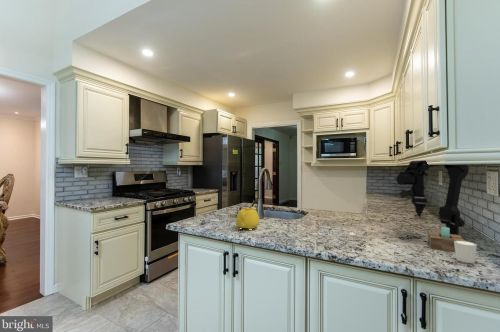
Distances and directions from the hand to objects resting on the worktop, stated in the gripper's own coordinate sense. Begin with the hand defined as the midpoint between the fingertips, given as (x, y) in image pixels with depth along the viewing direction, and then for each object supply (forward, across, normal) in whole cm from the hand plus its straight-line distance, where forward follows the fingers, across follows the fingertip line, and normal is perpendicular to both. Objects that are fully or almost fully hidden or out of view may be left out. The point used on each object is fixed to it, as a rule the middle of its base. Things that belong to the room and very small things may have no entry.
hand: (418, 214), depth 125 cm
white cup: (+13, +26, +14) cm, 32 cm away
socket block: (+12, +10, +10) cm, 19 cm away
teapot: (+13, +25, -88) cm, 93 cm away
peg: (+12, +10, +10) cm, 19 cm away
